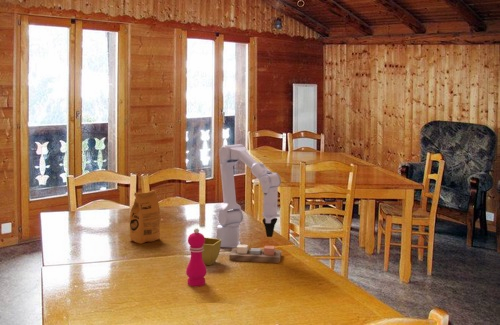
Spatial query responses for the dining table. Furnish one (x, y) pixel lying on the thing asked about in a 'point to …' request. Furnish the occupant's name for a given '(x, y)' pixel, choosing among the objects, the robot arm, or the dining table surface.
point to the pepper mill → (196, 260)
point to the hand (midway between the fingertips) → (269, 236)
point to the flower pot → (211, 250)
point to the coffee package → (145, 218)
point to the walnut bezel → (255, 256)
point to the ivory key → (242, 249)
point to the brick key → (269, 250)
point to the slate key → (255, 251)
